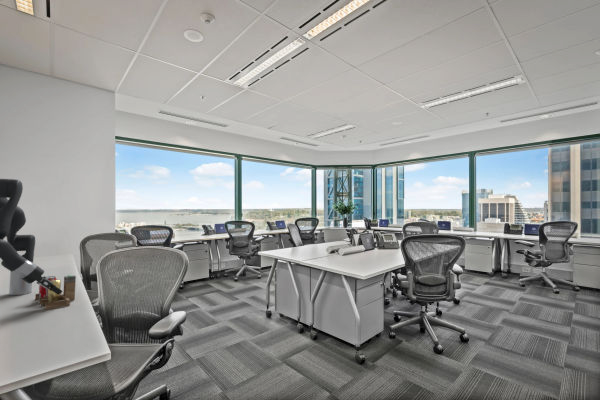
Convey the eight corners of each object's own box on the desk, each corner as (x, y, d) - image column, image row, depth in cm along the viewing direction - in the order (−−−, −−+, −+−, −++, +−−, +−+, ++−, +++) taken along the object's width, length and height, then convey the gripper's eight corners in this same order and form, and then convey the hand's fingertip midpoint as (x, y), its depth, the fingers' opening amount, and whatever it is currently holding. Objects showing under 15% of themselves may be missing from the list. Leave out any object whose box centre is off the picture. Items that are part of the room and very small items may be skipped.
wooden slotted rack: (35, 299, 152) (36, 275, 152) (66, 294, 162) (67, 272, 163) (45, 310, 136) (47, 283, 137) (79, 303, 146) (80, 278, 147)
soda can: (59, 298, 154) (60, 276, 155) (47, 302, 147) (48, 279, 148) (47, 297, 155) (49, 275, 156) (34, 301, 148) (35, 278, 149)
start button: (66, 280, 152) (66, 275, 152) (71, 279, 154) (72, 274, 154) (67, 280, 151) (68, 276, 151) (73, 280, 152) (73, 275, 152)
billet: (46, 303, 142) (47, 280, 143) (58, 301, 145) (59, 279, 146) (48, 305, 139) (49, 282, 139) (60, 303, 142) (61, 280, 143)
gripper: (39, 266, 133) (70, 288, 142) (33, 263, 142) (62, 283, 151) (22, 280, 129) (55, 301, 137) (17, 275, 138) (48, 295, 146)
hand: (59, 292), depth 144 cm, fingers closed on billet, 4 cm apart
